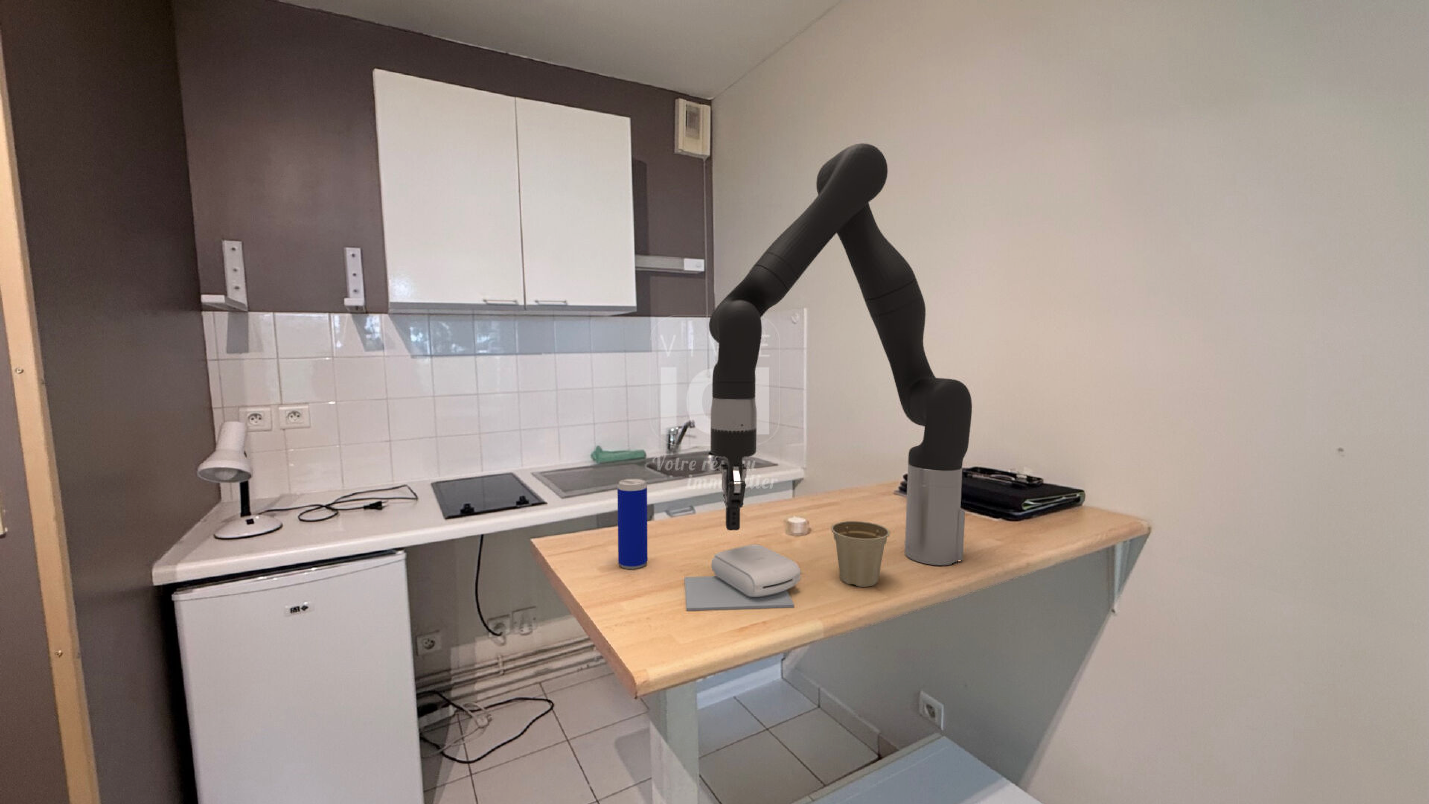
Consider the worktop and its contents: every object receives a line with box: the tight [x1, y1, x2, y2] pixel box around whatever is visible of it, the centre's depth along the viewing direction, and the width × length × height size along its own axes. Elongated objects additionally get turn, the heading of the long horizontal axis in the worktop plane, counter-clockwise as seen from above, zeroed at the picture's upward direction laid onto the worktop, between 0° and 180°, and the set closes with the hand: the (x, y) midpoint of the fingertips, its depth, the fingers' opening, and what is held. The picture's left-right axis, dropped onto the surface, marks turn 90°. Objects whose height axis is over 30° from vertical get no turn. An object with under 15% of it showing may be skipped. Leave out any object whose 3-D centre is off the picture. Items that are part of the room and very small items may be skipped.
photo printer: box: [711, 544, 802, 597], centre depth 87 cm, size 10×4×12 cm
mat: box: [684, 575, 795, 612], centre depth 85 cm, size 16×11×1 cm
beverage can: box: [616, 478, 649, 570], centre depth 95 cm, size 5×5×15 cm
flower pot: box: [830, 520, 891, 588], centre depth 90 cm, size 9×9×9 cm
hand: (732, 528), depth 90 cm, fingers closed
